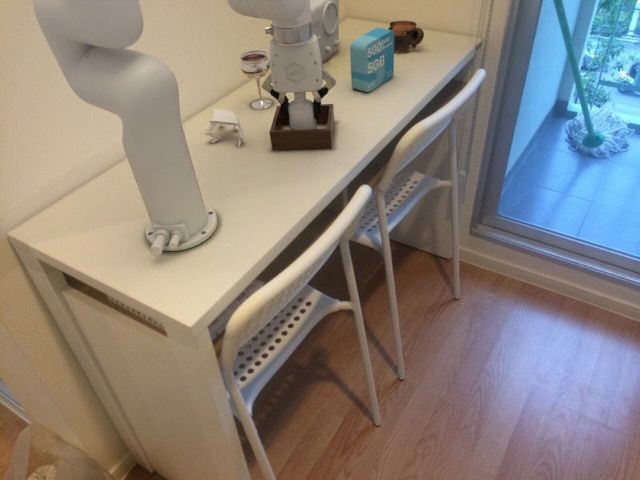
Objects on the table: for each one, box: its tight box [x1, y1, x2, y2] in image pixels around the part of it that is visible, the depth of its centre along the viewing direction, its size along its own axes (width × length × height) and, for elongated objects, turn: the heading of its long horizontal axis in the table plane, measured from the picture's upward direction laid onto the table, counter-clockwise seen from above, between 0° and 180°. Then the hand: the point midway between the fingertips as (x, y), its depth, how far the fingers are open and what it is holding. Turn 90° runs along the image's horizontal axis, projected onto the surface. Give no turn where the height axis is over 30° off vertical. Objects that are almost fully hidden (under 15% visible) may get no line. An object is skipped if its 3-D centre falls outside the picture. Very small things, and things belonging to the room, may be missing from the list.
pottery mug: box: [387, 20, 425, 53], centre depth 147 cm, size 12×10×8 cm
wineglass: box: [239, 49, 272, 110], centre depth 125 cm, size 7×7×12 cm
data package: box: [349, 27, 395, 93], centre depth 129 cm, size 12×4×12 cm, turn 140°
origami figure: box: [203, 108, 245, 147], centre depth 116 cm, size 12×8×5 cm
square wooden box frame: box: [269, 103, 335, 152], centre depth 114 cm, size 12×13×4 cm
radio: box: [310, 0, 341, 63], centre depth 138 cm, size 22×8×25 cm, turn 150°
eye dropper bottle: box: [288, 92, 318, 130], centre depth 112 cm, size 4×6×12 cm
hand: (302, 116), depth 113 cm, fingers closed on eye dropper bottle, 5 cm apart
